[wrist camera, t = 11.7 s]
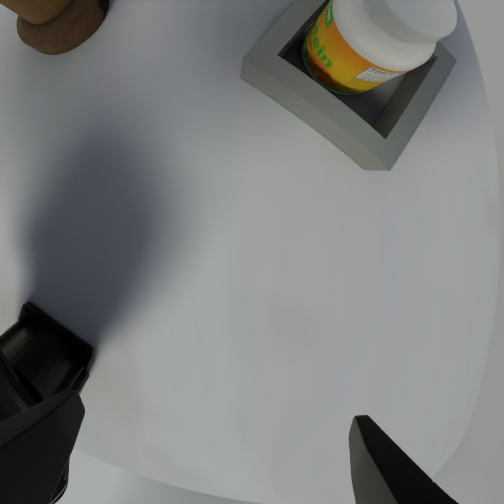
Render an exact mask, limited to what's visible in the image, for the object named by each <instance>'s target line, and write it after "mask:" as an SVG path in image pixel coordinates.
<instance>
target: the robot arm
mask: <svg viewBox="0 0 504 504" xmlns="http://www.w3.org/2000/svg"><path fill="white" fill-rule="evenodd" d="M27 307H29V309H30V310H28V308H27ZM85 350H87V351H88V352H89V353H87V352H86V351H85ZM93 354H94V349H93V348H92V347H91V346H90V345H89V344H87V343H86V342H84V341H83V340H81V339H80V338H78V337H77V336H76V335H74V334H73V333H71V332H70V331H68V330H67V329H66V328H64V327H63V326H61V325H60V324H59V323H57V322H56V321H55V320H53V319H52V318H51V317H49V316H48V315H47V314H45V313H44V312H43V311H41V310H40V309H39V308H38V307H36V306H35V305H34V304H33V303H31V302H26V303H25V304H23V306H22V309H21V313H20V316H19V319H18V321H17V322H16V323H15V324H14V325H13V326H11V327H10V328H9V329H8V330H7V331H6V332H4V333H3V334H2V335H1V336H0V504H54V503H56V502H57V501H58V500H59V499H60V498H61V497H62V495H63V494H64V492H65V490H66V488H67V485H68V474H69V457H70V455H71V452H72V450H73V447H74V445H75V442H76V439H77V436H78V432H79V429H80V426H81V424H82V421H83V418H84V415H85V408H84V405H83V403H82V400H81V398H80V393H81V391H82V389H83V387H84V385H85V383H86V381H87V379H88V377H89V372H88V371H86V368H87V366H88V364H89V362H90V360H91V358H92V356H93ZM349 448H350V463H351V478H352V485H353V490H354V496H355V501H356V504H459V503H457V502H456V501H455V500H454V499H452V498H451V497H450V496H449V495H448V494H447V493H445V492H444V491H443V490H442V489H441V488H440V487H439V486H438V485H437V484H436V483H435V482H433V481H432V479H431V478H430V477H429V476H428V475H427V474H426V473H425V472H424V471H423V470H422V469H421V468H420V467H419V466H418V465H417V464H416V463H415V462H414V461H413V460H412V459H411V458H410V457H409V456H408V455H407V454H406V453H405V452H404V451H403V450H402V449H401V448H400V447H399V446H398V445H397V444H396V443H395V442H394V441H393V440H392V439H391V438H390V437H389V436H388V435H387V434H386V433H385V432H384V431H383V430H382V429H381V428H380V427H379V426H378V425H377V424H376V423H375V422H374V421H373V420H372V419H371V418H370V417H369V416H368V415H358V416H355V417H354V418H353V422H352V425H351V429H350V432H349Z"/></svg>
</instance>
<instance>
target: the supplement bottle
mask: <svg viewBox="0 0 504 504" xmlns="http://www.w3.org/2000/svg"><path fill="white" fill-rule="evenodd" d="M456 24H457V11H456V7H455V4H454V2H453V0H330V2H329V3H328V4H327V6H326V7H325V9H324V10H323V11H322V13H321V14H320V16H319V17H318V19H317V20H316V21H315V23H314V24H313V26H312V27H311V28H310V30H309V31H308V33H307V35H306V36H305V38H304V41H303V45H302V58H303V62H304V65H305V67H306V69H307V71H308V72H309V74H310V75H311V76H312V78H313V79H314V80H315V81H316V82H317V83H318V84H320V85H321V86H322V87H324V88H326V89H327V90H330V91H332V92H334V93H338V94H343V95H356V94H360V93H363V92H366V91H368V90H370V89H372V88H374V87H376V86H378V85H380V84H382V83H385V82H387V81H389V80H391V79H393V78H395V77H397V76H399V75H401V74H403V73H406V72H408V71H410V70H412V69H415V68H417V67H418V66H420V65H422V64H424V63H425V62H426V61H427V60H428V59H429V58H430V57H431V55H432V54H433V52H434V50H435V46H436V42H437V41H439V40H440V39H442V38H444V37H446V36H448V35H449V34H451V33H452V32H453V30H454V29H455V27H456Z"/></svg>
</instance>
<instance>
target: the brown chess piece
mask: <svg viewBox="0 0 504 504" xmlns="http://www.w3.org/2000/svg"><path fill="white" fill-rule="evenodd" d="M0 3H1V4H2V5H4V6H6V7H7V8H9V9H10V10H12V11H13V12H15V13H16V14H18V19H17V31H18V34H19V37H20V38H21V40H22V41H23V42H24V43H26V44H27V45H29V46H31V47H33V48H34V49H36V50H38V51H39V52H42V53H44V54H50V55H54V54H60V53H64V52H67V51H70V50H72V49H73V48H75V47H77V46H79V45H80V44H82V43H83V42H84V41H86V40H87V39H88V38H89V37H90V36H91V35H92V34H93V33H94V32H95V31H96V30H97V29H98V27H99V26H100V24H101V23H102V21H103V19H104V17H105V15H106V13H107V10H108V5H109V0H0Z"/></svg>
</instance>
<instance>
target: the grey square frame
mask: <svg viewBox="0 0 504 504" xmlns="http://www.w3.org/2000/svg"><path fill="white" fill-rule="evenodd" d="M329 2H330V0H296V1H295V2H294V3H293V4H292V5H291V6H290V7H289V8H288V9H287V10H286V12H285V13H284V14H283V15H282V16H281V17H280V18H279V19H278V20H277V21H276V22H275V23H274V24H273V25H272V27H271V28H270V29H269V30H268V31H267V32H266V33H265V34H264V35H263V37H262V38H261V39H260V40H259V41H258V42H257V43H256V45H255V46H254V47H253V48H252V49H251V50H250V52H249V53H248V54H247V55H246V56H245V57H244V59H243V65H242V71H241V77H240V78H242V79H243V80H245V81H246V82H248V83H249V84H251V85H252V86H254V87H255V88H257V89H258V90H260V91H261V92H263V93H264V94H266V95H267V96H269V97H270V98H272V99H273V100H275V101H276V102H278V103H279V104H280V105H282V106H283V107H285V108H286V109H287V110H289V111H290V112H292V113H293V114H294V115H296V116H297V117H298V118H300V119H301V120H303V121H304V122H305V123H307V124H308V125H309V126H311V127H312V128H313V129H315V130H316V131H317V132H318V133H320V134H321V135H322V136H324V137H325V138H326V139H327V140H329V141H330V142H331V143H332V144H334V145H335V146H336V147H337V148H339V149H340V150H341V151H342V152H344V153H345V154H346V155H347V156H348V157H350V158H351V159H352V160H353V161H354V162H356V163H357V164H358V165H359V166H360V167H362V168H363V169H364V170H389V171H390V170H391V169H392V167H393V166H394V164H395V163H396V161H397V159H398V158H399V156H400V155H401V153H402V152H403V150H404V148H405V147H406V145H407V144H408V142H409V141H410V139H411V137H412V136H413V134H414V132H415V131H416V129H417V128H418V126H419V124H420V123H421V121H422V119H423V118H424V116H425V114H426V113H427V111H428V109H429V108H430V106H431V104H432V103H433V101H434V99H435V98H436V96H437V94H438V92H439V91H440V89H441V87H442V86H443V84H444V82H445V80H446V78H447V77H448V75H449V73H450V71H451V70H452V68H453V66H454V64H455V62H456V61H457V60H456V59H455V58H454V57H453V56H452V55H451V54H450V53H449V52H448V51H447V50H446V49H445V47H444V46H443V45H442V44H441V43H440V42H439V41H437V42H436V46H435V50H434V52H433V54H432V55H431V57H430V58H429V59H428V60H427V61H426V62H425V63H424V64H422V65H420V66H418V67H417V68H415V69H412V70H410V71H409V73H408V74H407V76H406V77H405V79H404V80H403V82H402V83H401V85H400V86H399V88H398V89H397V91H396V92H395V94H394V95H393V97H392V98H391V100H390V101H389V103H388V104H387V106H386V107H385V109H384V110H383V112H382V113H381V115H380V116H379V118H378V119H377V121H376V122H375V124H374V125H373V127H371V126H370V125H369V124H368V123H367V122H365V121H364V120H363V119H362V118H361V117H360V116H358V115H357V114H356V113H355V112H354V111H352V110H351V109H350V108H349V107H348V106H346V105H345V104H344V103H343V102H341V101H340V100H339V99H338V98H336V97H335V96H334V95H332V94H331V93H330V92H329V91H327V90H326V89H325V88H323V87H322V86H321V85H319V84H318V83H317V82H315V81H314V80H313V79H311V78H310V77H308V76H307V75H306V74H304V73H303V72H301V71H300V70H299V69H297V68H296V67H294V66H293V65H291V64H290V63H288V62H287V61H285V60H284V59H282V57H283V55H284V54H285V53H286V52H287V51H288V49H289V48H290V47H291V46H292V45H293V44H294V42H295V41H296V40H297V39H298V38H299V37H300V36H301V34H302V33H303V32H304V31H305V30H306V29H307V28H308V26H309V25H310V24H311V23H312V22H313V21H314V20H315V19H316V18H317V16H318V15H319V14H320V13H321V12H322V11H323V10H324V9H325V7H326V6H327V4H328V3H329Z"/></svg>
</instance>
